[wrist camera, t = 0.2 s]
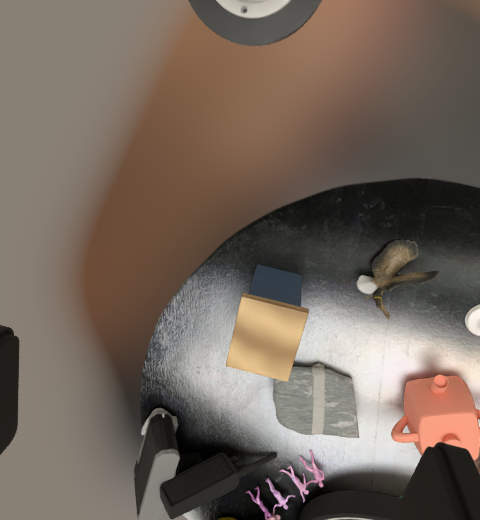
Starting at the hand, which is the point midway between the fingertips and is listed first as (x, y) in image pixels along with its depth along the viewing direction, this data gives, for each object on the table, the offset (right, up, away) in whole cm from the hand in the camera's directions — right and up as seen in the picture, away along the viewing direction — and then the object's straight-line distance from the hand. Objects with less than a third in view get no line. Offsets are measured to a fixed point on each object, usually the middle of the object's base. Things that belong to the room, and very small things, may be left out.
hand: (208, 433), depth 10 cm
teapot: (+30, -17, +59) cm, 68 cm away
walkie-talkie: (-11, -34, +59) cm, 69 cm away
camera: (-10, -33, +62) cm, 71 cm away
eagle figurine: (+22, +3, +52) cm, 57 cm away
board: (+4, -5, +45) cm, 46 cm away
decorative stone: (+15, -19, +64) cm, 68 cm away
